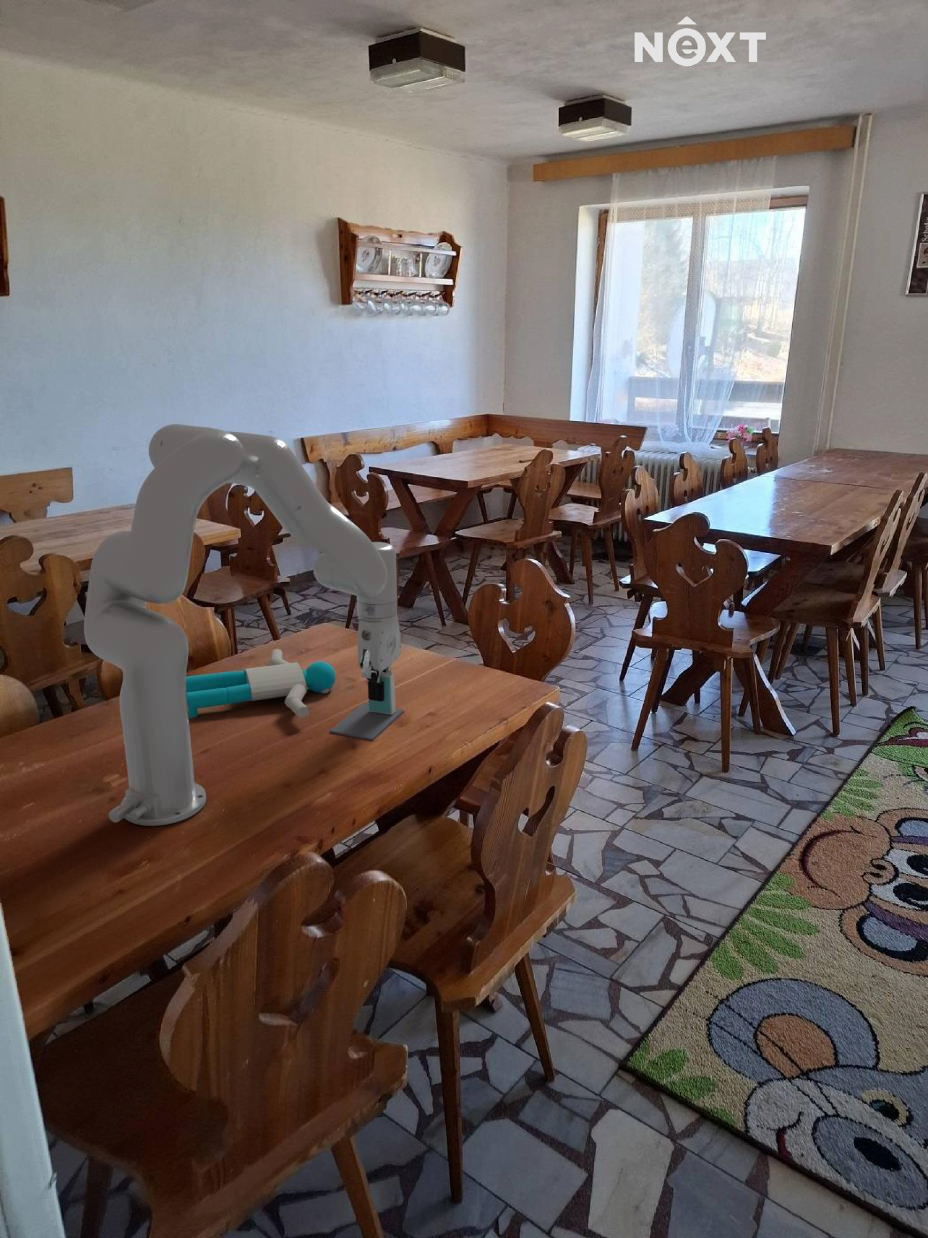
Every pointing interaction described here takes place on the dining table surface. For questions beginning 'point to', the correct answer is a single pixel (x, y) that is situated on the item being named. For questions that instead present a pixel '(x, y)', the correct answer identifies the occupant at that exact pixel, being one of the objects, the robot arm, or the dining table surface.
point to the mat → (365, 723)
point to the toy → (260, 685)
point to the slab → (385, 696)
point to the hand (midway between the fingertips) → (379, 696)
